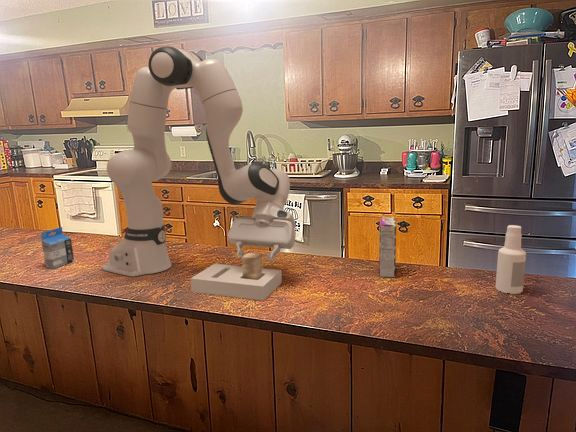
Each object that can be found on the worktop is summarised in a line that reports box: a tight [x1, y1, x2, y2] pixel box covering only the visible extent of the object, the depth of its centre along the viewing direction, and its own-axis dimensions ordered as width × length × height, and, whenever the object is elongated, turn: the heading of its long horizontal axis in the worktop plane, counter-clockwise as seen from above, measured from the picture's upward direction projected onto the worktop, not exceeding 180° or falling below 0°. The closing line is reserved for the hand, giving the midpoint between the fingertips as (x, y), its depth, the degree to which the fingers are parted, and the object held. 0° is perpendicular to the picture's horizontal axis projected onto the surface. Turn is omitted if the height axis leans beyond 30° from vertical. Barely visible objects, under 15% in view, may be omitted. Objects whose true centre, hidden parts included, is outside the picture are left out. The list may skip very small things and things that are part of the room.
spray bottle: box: [494, 224, 527, 295], centre depth 122 cm, size 7×7×18 cm
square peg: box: [241, 252, 262, 280], centre depth 127 cm, size 4×4×10 cm
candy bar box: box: [378, 216, 397, 278], centre depth 139 cm, size 11×5×16 cm, turn 168°
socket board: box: [190, 263, 283, 302], centre depth 129 cm, size 22×14×4 cm, turn 71°
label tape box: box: [40, 226, 75, 270], centre depth 153 cm, size 9×4×12 cm, turn 160°
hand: (254, 258), depth 128 cm, fingers open, 8 cm apart
